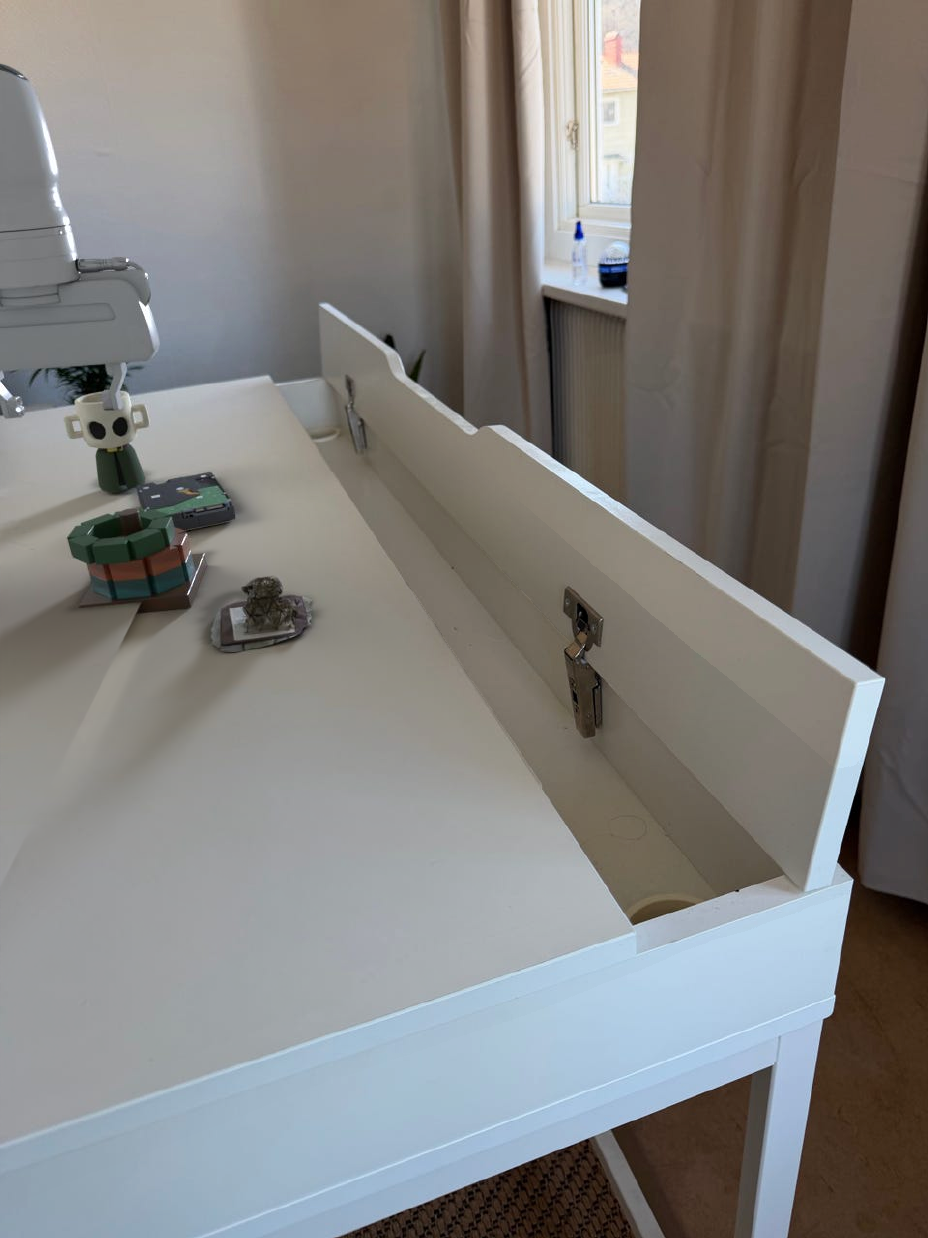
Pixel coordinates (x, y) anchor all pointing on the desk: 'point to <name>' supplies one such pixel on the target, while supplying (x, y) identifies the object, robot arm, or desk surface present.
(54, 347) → the robot arm
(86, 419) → the character mug
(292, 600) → the figurine on base
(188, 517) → the disk drive
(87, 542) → the green ring
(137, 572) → the ring stack
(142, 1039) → the desk surface
